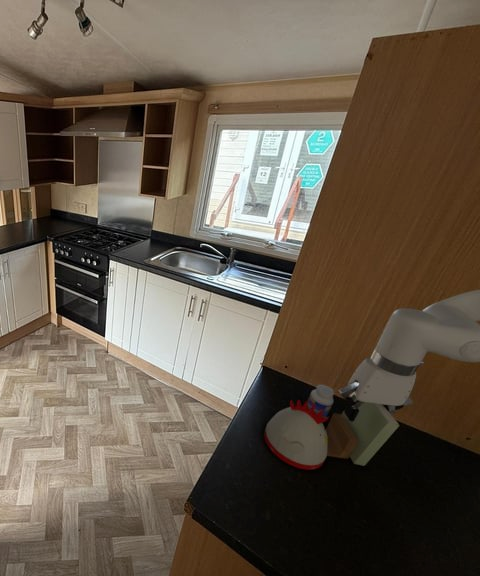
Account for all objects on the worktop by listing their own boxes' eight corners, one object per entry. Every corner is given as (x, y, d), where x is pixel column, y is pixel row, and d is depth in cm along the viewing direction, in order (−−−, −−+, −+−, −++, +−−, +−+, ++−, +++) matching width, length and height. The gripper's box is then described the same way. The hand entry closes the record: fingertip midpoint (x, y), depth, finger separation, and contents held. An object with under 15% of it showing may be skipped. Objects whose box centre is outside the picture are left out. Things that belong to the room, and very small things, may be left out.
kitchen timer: (312, 481, 74) (333, 437, 67) (254, 441, 83) (268, 400, 77) (332, 447, 82) (353, 406, 75) (277, 414, 91) (292, 375, 85)
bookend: (332, 432, 86) (341, 414, 83) (348, 459, 79) (358, 440, 76) (312, 429, 87) (321, 411, 84) (326, 455, 80) (336, 437, 77)
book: (370, 389, 80) (360, 387, 80) (400, 424, 70) (388, 422, 70) (341, 429, 87) (332, 426, 87) (364, 466, 77) (353, 463, 77)
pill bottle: (299, 411, 93) (309, 386, 88) (310, 404, 95) (320, 380, 91) (318, 424, 88) (330, 399, 84) (329, 417, 91) (341, 392, 86)
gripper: (425, 355, 71) (392, 411, 79) (342, 347, 74) (318, 402, 82) (452, 377, 65) (413, 437, 73) (360, 368, 68) (332, 426, 76)
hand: (363, 418), depth 77 cm, fingers open, 5 cm apart
